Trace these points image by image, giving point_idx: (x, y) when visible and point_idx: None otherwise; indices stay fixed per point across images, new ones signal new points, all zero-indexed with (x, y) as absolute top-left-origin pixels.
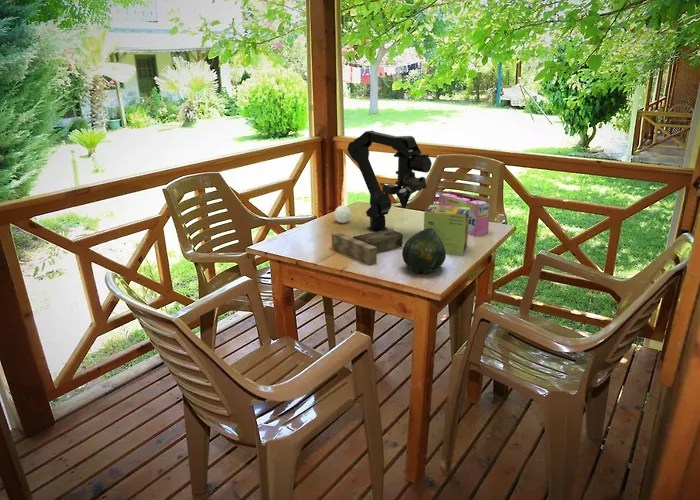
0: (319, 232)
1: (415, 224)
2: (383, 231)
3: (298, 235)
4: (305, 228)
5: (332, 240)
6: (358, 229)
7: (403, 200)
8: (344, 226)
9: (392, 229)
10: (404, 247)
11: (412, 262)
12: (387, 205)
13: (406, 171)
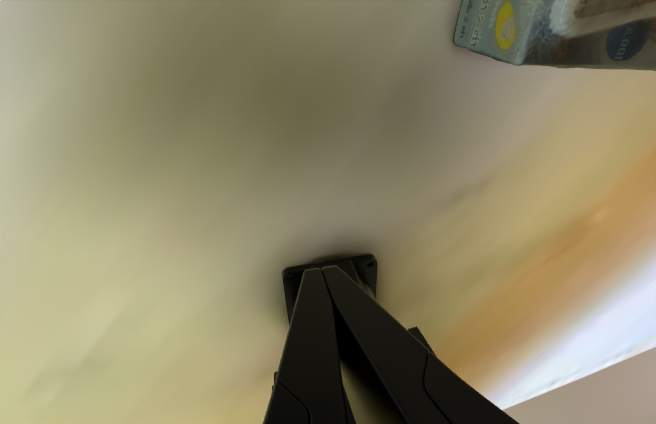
0: (543, 342)
1: (32, 280)
2: (635, 40)
3: (611, 339)
4: (532, 386)
5: None
6: (406, 322)
7: (436, 358)
8: None
9: (578, 8)
10: None
11: None
12: (348, 420)
13: None
